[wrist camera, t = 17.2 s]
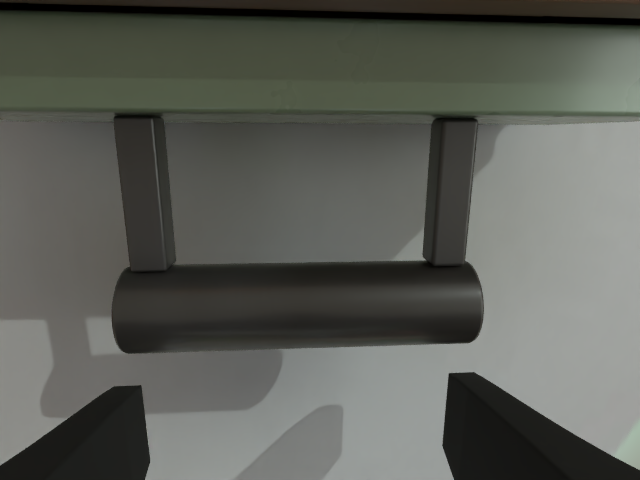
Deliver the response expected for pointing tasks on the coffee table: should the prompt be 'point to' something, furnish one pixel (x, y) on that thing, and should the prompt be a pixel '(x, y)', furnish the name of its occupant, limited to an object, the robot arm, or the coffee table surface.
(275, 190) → the coffee table surface
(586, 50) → the drawer
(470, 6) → the cabinet
